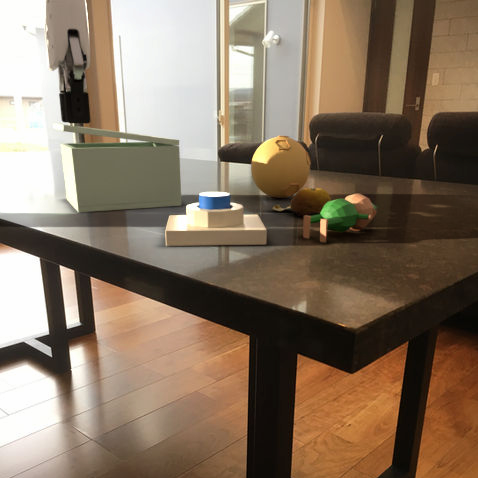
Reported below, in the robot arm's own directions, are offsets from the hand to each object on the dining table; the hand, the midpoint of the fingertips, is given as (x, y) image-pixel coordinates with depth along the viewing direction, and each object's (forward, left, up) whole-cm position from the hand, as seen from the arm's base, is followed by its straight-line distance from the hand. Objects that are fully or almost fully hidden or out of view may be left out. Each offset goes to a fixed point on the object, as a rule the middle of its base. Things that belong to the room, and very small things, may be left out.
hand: (75, 121), depth 76 cm
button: (+20, -23, -9) cm, 32 cm away
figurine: (+36, -22, -12) cm, 44 cm away
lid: (+5, +2, -2) cm, 6 cm away
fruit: (+34, -8, -12) cm, 37 cm away
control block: (+20, -23, -12) cm, 33 cm away
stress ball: (+32, +6, -12) cm, 34 cm away
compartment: (+6, +2, -12) cm, 14 cm away
